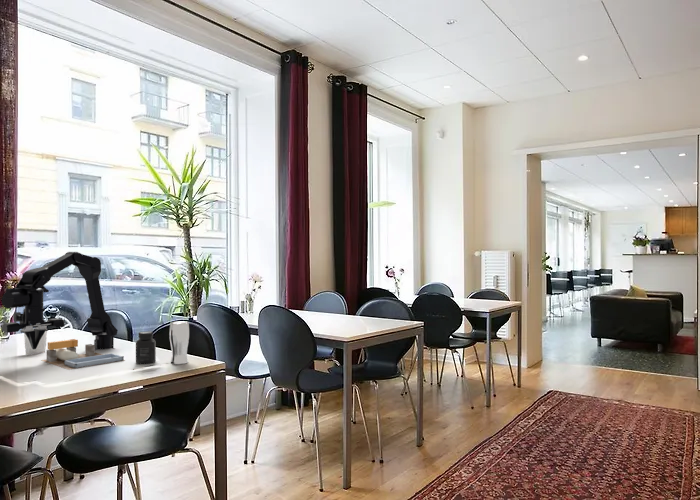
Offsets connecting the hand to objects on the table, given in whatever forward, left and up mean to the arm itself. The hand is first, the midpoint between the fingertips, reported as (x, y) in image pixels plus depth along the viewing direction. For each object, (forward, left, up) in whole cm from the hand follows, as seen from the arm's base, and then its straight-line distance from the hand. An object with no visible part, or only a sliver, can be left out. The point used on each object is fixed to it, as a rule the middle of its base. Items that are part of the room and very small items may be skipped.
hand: (34, 349), depth 190 cm
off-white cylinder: (-9, +3, -5) cm, 11 cm away
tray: (-15, +15, -5) cm, 21 cm away
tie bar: (-10, 0, -1) cm, 10 cm away
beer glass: (-37, +35, -6) cm, 51 cm away
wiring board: (-14, +8, -6) cm, 17 cm away
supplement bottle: (-27, +29, -6) cm, 40 cm away
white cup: (-9, -23, -6) cm, 26 cm away
